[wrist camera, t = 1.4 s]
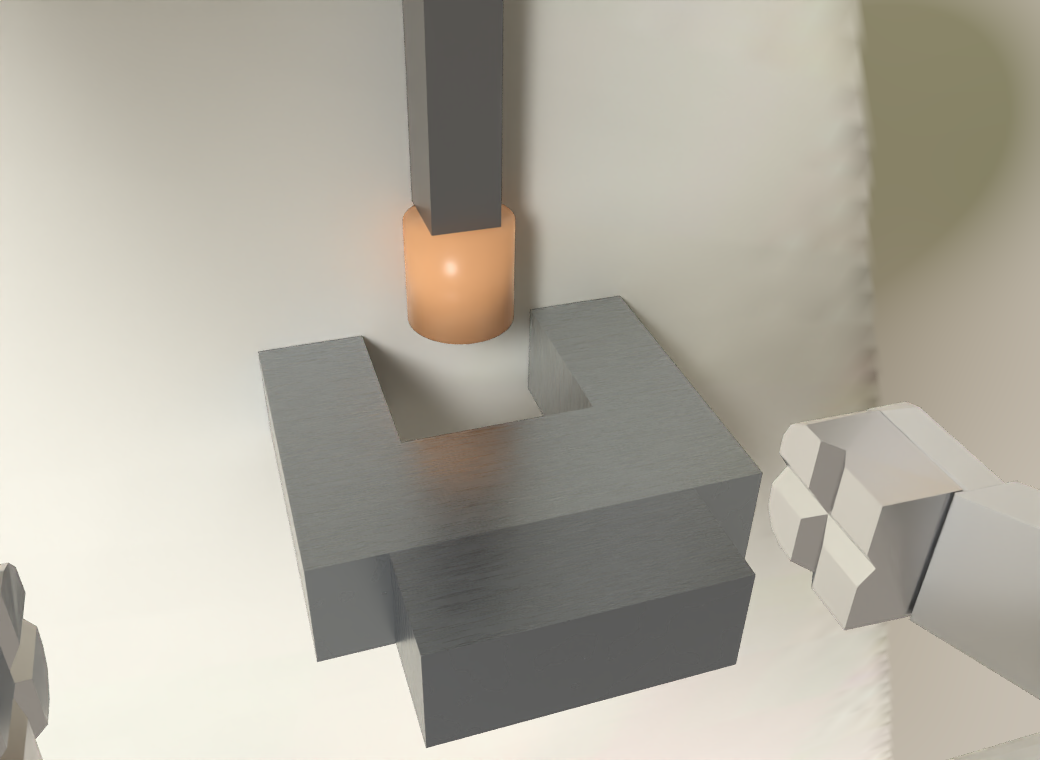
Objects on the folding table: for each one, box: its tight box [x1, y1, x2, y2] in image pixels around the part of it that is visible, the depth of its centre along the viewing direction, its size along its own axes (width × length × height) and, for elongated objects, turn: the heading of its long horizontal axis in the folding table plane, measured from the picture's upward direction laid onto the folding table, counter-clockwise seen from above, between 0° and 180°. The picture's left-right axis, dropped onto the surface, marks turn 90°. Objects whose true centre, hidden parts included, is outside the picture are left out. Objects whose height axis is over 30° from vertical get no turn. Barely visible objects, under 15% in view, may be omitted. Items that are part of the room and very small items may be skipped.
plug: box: [403, 0, 515, 344], centre depth 33 cm, size 18×4×4 cm, turn 179°
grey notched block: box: [258, 296, 762, 748], centre depth 35 cm, size 4×15×16 cm, turn 89°
